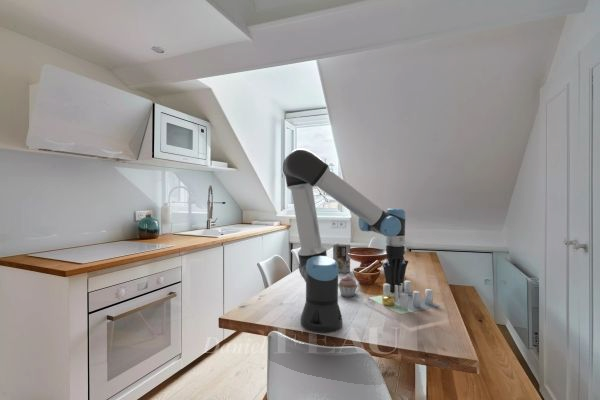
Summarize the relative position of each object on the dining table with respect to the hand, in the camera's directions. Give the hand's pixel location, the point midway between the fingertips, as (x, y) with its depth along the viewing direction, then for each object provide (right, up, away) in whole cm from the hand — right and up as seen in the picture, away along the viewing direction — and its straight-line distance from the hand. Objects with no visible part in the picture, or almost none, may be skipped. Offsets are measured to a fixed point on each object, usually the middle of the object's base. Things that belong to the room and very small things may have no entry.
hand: (394, 299), depth 127 cm
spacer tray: (+4, -2, +2) cm, 6 cm away
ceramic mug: (+9, -2, +23) cm, 25 cm away
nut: (-3, -1, -1) cm, 3 cm away
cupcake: (-18, -2, +13) cm, 22 cm away
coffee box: (-15, -1, +56) cm, 58 cm away
